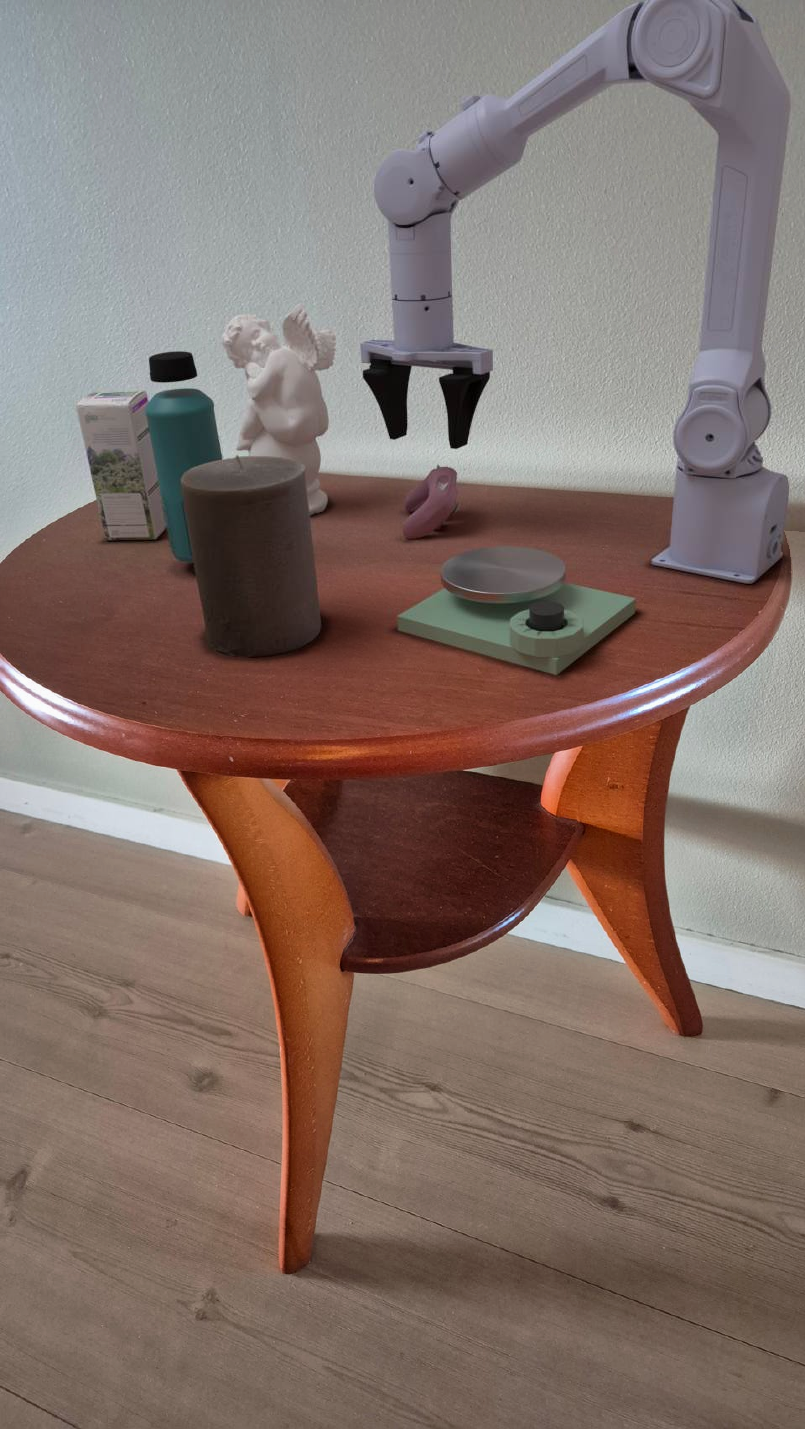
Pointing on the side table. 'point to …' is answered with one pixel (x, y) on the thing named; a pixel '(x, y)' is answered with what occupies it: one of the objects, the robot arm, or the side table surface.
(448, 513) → the video game controller
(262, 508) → the pillar candle
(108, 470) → the syrup box
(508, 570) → the scale pan
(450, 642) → the scale
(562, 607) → the tare button
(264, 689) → the side table surface
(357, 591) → the side table surface
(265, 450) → the cherub figurine
